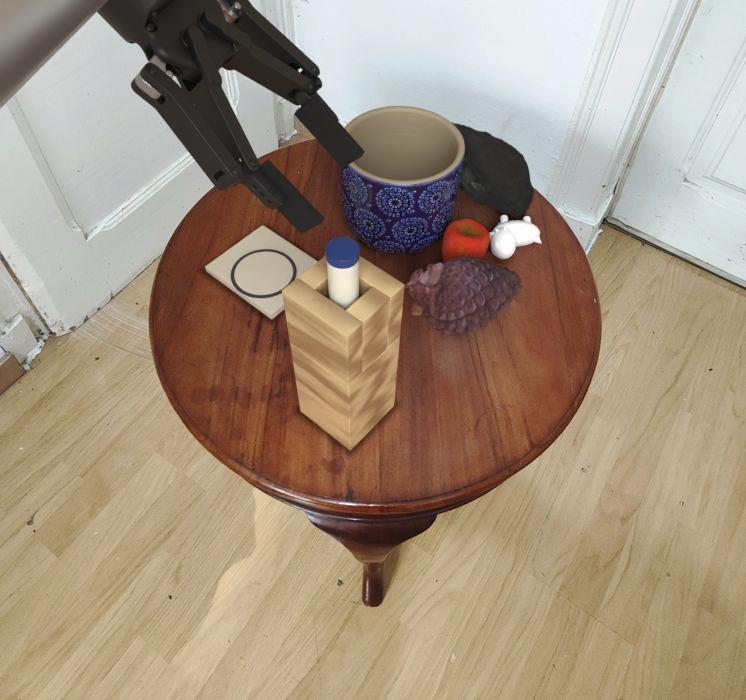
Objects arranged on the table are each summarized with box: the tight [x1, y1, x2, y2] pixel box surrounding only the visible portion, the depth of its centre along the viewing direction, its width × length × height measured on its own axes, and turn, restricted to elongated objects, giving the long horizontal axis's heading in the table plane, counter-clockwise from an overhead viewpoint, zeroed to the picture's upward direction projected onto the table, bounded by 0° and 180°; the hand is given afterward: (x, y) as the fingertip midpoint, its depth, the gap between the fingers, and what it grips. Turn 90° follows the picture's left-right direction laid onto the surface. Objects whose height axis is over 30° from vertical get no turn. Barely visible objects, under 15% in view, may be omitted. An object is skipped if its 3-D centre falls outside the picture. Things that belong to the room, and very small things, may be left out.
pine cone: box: [404, 256, 523, 336], centre depth 81 cm, size 18×10×10 cm
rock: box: [450, 121, 535, 221], centre depth 92 cm, size 16×14×7 cm
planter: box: [338, 105, 465, 255], centre depth 88 cm, size 16×17×15 cm
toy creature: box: [489, 214, 543, 260], centre depth 90 cm, size 5×8×6 cm
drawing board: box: [204, 224, 319, 320], centre depth 88 cm, size 11×13×1 cm
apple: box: [441, 218, 491, 263], centre depth 86 cm, size 6×6×8 cm
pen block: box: [282, 255, 405, 451], centre depth 67 cm, size 8×8×22 cm
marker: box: [324, 236, 360, 311], centre depth 59 cm, size 3×3×13 cm
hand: (334, 191), depth 56 cm, fingers open, 9 cm apart
